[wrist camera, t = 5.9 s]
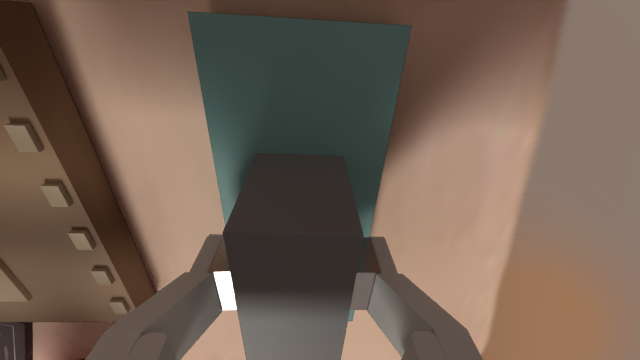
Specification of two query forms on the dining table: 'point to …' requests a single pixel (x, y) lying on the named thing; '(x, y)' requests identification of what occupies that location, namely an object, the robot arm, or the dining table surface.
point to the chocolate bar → (16, 341)
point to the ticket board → (55, 196)
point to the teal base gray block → (296, 166)
